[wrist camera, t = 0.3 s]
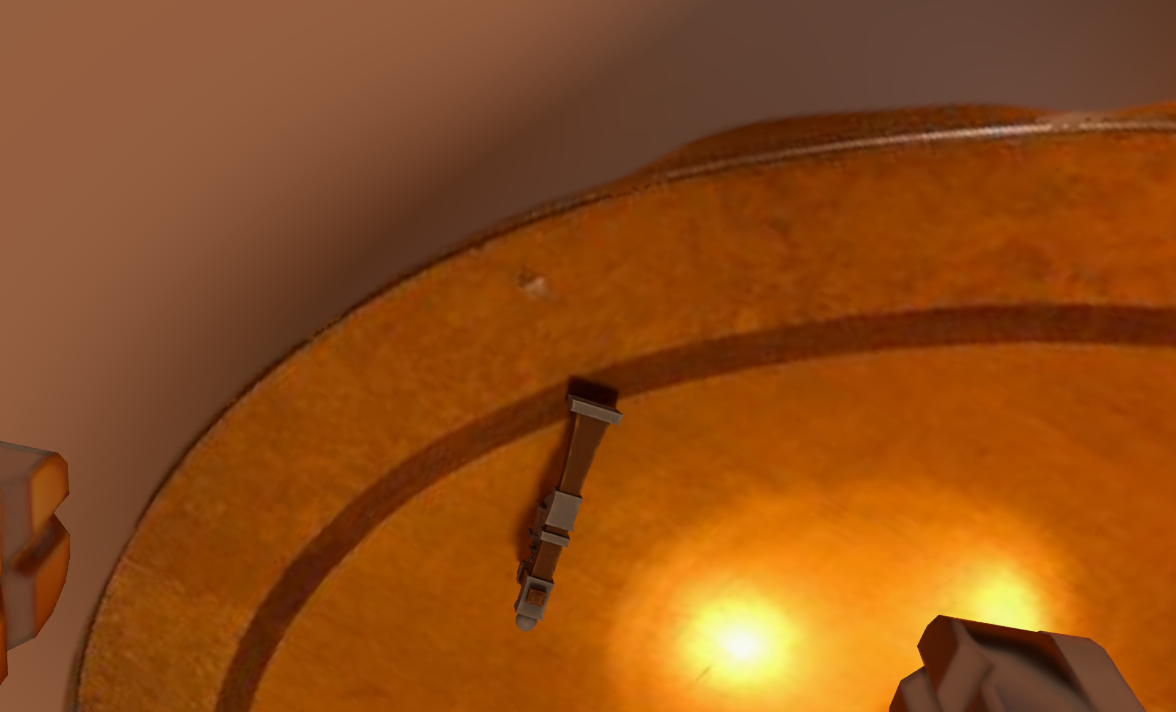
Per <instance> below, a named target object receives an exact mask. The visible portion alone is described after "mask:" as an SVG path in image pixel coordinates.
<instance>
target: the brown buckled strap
mask: <svg viewBox="0 0 1176 712" xmlns="http://www.w3.org/2000/svg"><path fill="white" fill-rule="evenodd" d="M567 395H568V399H567V403H566V406H567V407H568V408H569V409H570V410H571V411H573V416H572V424H571V430H570V435H569V440H568V445H567V450H566V455H565V460H564V465H563V469H562V472H561V476H560V479H559V482H558V486H554V485H553V491H552V493H550V494H548V495H547V496H546V497H545V499H544V504H542V503H538V502H537V506H538V509H537V513H536V517H535V521H534V525H533V527H532V528H527V532H528V536H529V537H530V538H532V539H533V540H534V541H533V542H532V543H533V545H534V546H530V545H529V548H530V551H531V552H532V553H533V556H531V557H529V558H528V559H527V561H524V560H521V562H520V565H519V568H518V571H517V578H516V579H517V583H518V584H521V590H520V593H519V596H518V599H517V601H516V603H515V604H514V608H515V613H518V615H517V617H516V624H517V626H518V628H519V629H521V630H523V631H530V630H532V629H533V628H534V627H535V625H536V623H537V619H538V620H541V621H542V620H543V613H544V610H545V607H546V604H547V601H548V598H549V595H550V592H551V590H552V588H553V586H554V582H553V579H552V576H553V573H554V570H555V567H556V565H557V562H558V559H559V556H560V553H561V550H562V548H563V546H565V547H567V546H568V542H569V540H570V538H569V536H568V531H572V532H573V526H574V521H575V518H576V514H577V511H578V508H579V506H580V504H581V502H582V500H583V498H582V497H581V495H580V493H581V490H582V487H583V484H584V481H585V478H586V475H587V473H588V470H589V468H590V466H591V463H592V461H593V459H594V456H595V454H596V451H597V449H598V447H599V444H600V442H601V440H602V438H603V436H604V434H605V432H606V430H607V428H608V426H609V424H610V423H613V424H616V425H619V422H620V420H621V418H622V417H623V416H624V415H623V414H622V413H621V412H619V411H618V410H617V409H615V408H612V407H608V406H605V405H602V404H599V403H596V402H592V401H589V400H586V399H583V398H580V397H576V396H573V395H570V394H567ZM530 559H533V563H531V562H529V561H530Z"/></svg>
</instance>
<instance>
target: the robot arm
mask: <svg viewBox="0 0 1176 712" xmlns="http://www.w3.org/2000/svg"><path fill="white" fill-rule="evenodd" d="M68 495H69V481H68V464H67V462H66V461H65V460H64V459H63V458H62V457H61V455H60V454H59V453H56V452H51V451H46V450H41V449H37V448H31V447H27V446H22V445H17V444H12V443H7V442H2V441H0V685H1V683H2V682H3V681H4V679H5V678H6V677H7V675H8V667H7V666H8V665H7V651H8V650H10V649H12V648H14V647H16V646H18V645H21V644H23V643H25V642H27V641H29V640H31V639H33V638H35V637H36V636H37V635H38V633H39V632H40V630H41V629H42V627H43V626H44V624H45V623H46V622H47V620H48V619H49V617H50V616H51V615H52V613H53V611H54V608H55V606H56V603H57V601H58V599H59V596H60V594H61V592H62V589H63V586H64V584H65V581H66V576H67V571H68V565H69V560H70V534H69V533H68V531H67V530H66V529H65V527H64V526H63V525H62V523H61V522H60V521H59V520H58V518H57V517H56V516H55V514H54V512H55V510H56V509H57V508H58V507H59V506H60V504H61V503H62V502H63V501H64V500H65V498H66V497H67V496H68ZM917 647H918V650H919V653H920V655H921V658H922V661H923V664H924V666H923V667H922V668H920V669H918V670H917V671H915V672H914V673H912V674H910V675H909V676H907V677H906V678H904V679H902V680H901V681H900V683H899V686H898V688H897V691H896V693H895V695H894V698H893V700H892V702H891V705H890V707H889V712H1146V711H1145V710H1144V708H1143V707H1142V705H1141V704H1140V702H1139V701H1138V699H1137V698H1136V696H1135V695H1134V693H1133V692H1132V690H1131V689H1130V687H1129V686H1128V684H1127V683H1126V681H1125V679H1124V678H1123V676H1122V675H1121V673H1120V672H1119V670H1118V669H1117V667H1116V666H1115V664H1114V663H1113V661H1112V660H1111V658H1110V657H1109V655H1108V654H1107V652H1106V651H1105V649H1104V648H1103V647H1101V646H1100V645H1098V644H1097V643H1096V642H1094V641H1093V640H1091V639H1090V638H1084V637H1077V636H1071V635H1064V634H1058V633H1051V632H1045V631H1038V632H1034V631H1028V630H1022V629H1017V628H1011V627H1005V626H1000V625H994V624H988V623H983V622H977V621H971V620H966V619H960V618H954V617H949V616H943V615H938V616H937V617H936V618H935V619H934V620H933V621H932V622H931V623H930V624H929V625H928V626H927V627H926V629H925V631H924V633H923V635H922V637H921V639H920V641H919V643H918V645H917Z"/></svg>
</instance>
